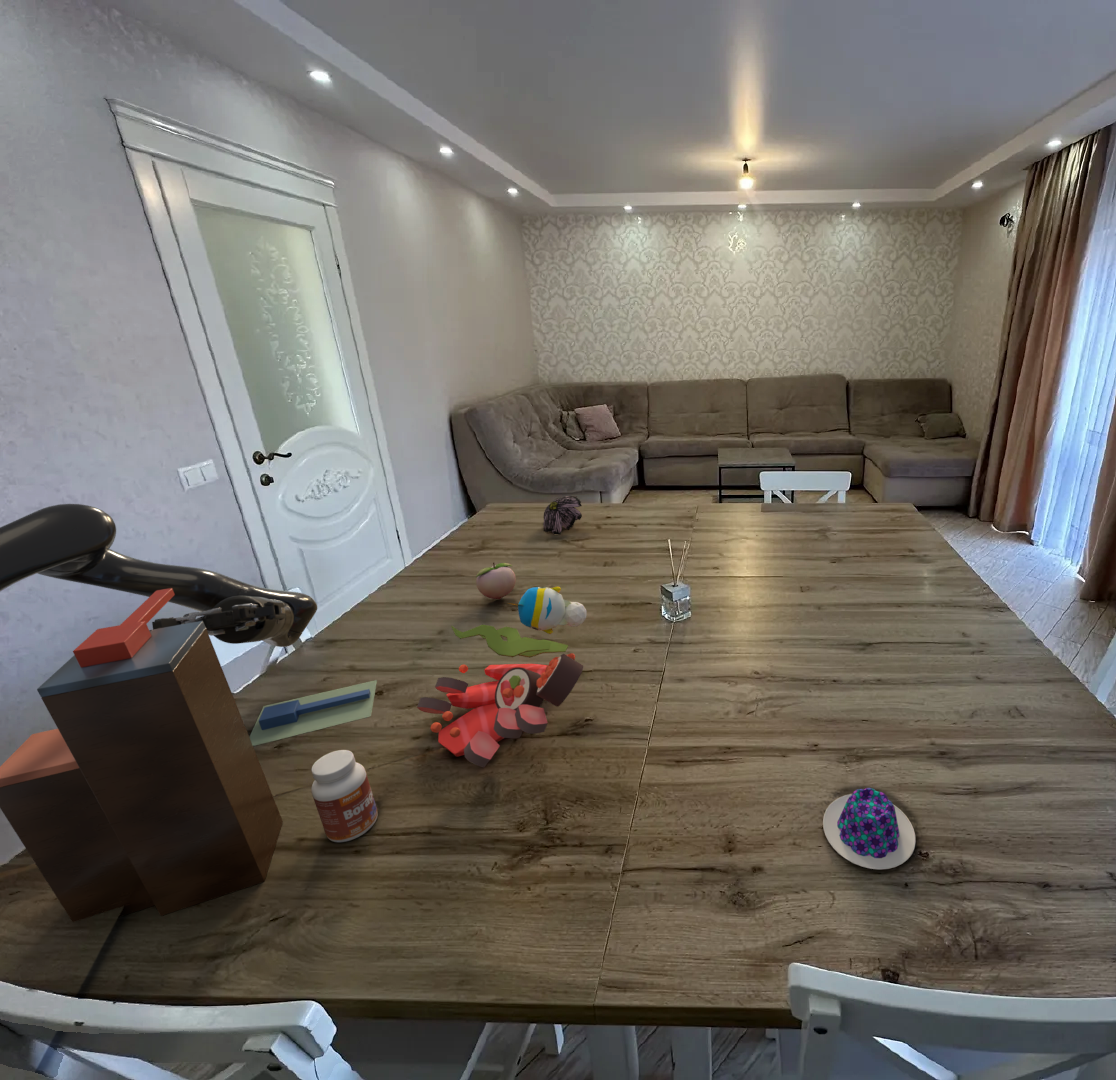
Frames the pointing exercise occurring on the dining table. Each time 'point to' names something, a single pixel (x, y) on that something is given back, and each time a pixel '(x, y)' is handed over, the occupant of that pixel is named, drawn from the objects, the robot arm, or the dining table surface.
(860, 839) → the pudding
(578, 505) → the decorative flower
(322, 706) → the blue spatula
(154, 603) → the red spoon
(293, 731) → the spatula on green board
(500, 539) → the dining table surface
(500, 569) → the decorative fruit
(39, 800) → the wooden stand
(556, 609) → the sushi set
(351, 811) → the pill bottle
